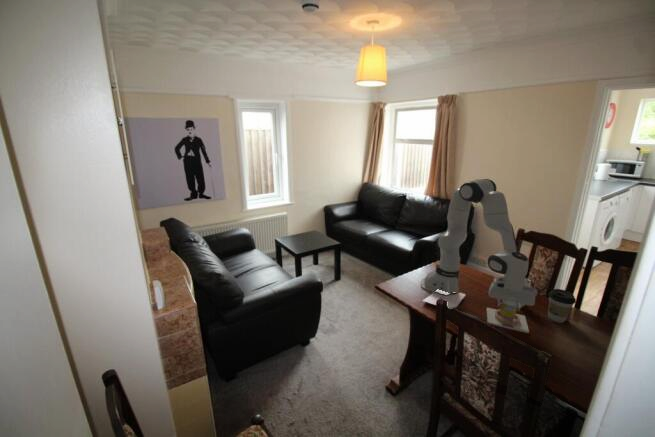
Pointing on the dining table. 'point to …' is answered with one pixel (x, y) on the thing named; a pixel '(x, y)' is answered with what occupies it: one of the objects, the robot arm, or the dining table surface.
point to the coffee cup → (560, 304)
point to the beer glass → (527, 283)
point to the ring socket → (507, 321)
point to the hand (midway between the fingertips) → (508, 307)
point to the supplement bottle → (508, 309)
